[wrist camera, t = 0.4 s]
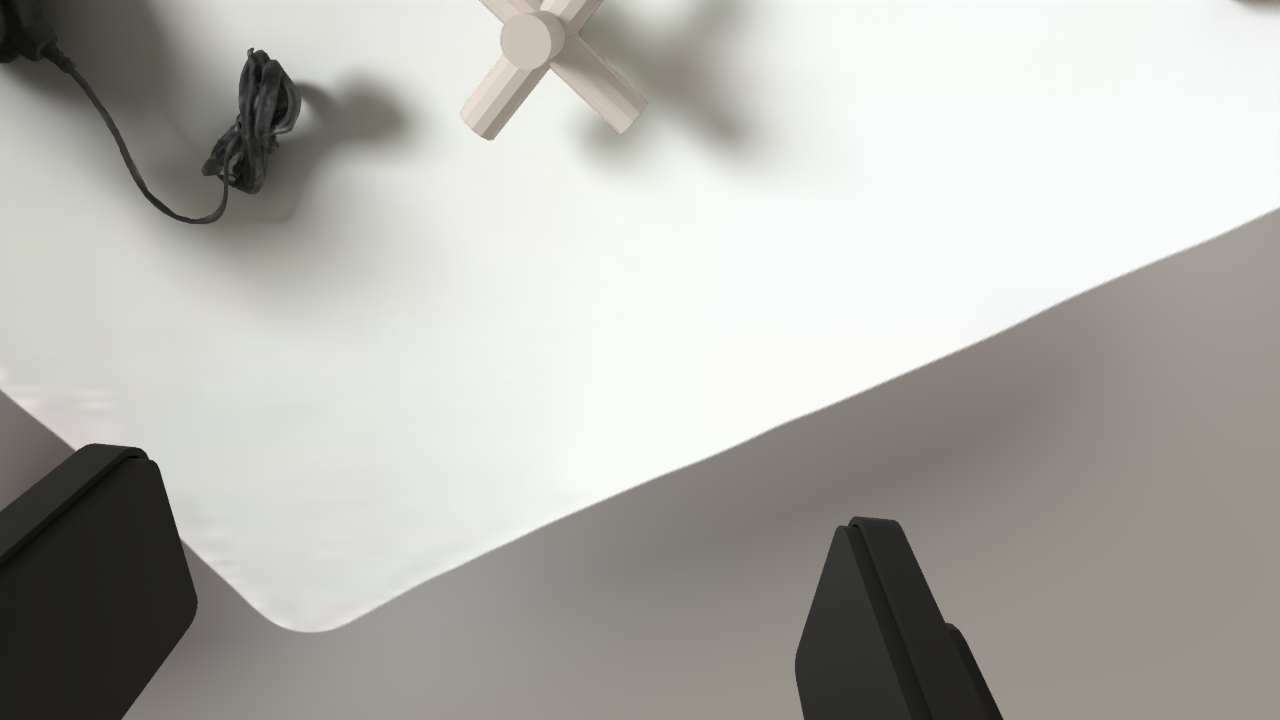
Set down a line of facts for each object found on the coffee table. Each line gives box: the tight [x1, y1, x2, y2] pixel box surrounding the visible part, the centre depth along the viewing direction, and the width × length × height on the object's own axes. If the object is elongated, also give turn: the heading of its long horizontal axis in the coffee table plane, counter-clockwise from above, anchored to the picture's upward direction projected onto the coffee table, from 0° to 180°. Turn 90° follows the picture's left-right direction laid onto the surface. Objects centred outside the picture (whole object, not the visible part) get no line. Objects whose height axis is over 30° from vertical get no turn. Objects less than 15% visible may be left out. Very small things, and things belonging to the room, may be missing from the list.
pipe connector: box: [459, 0, 647, 140], centre depth 28 cm, size 10×10×10 cm
